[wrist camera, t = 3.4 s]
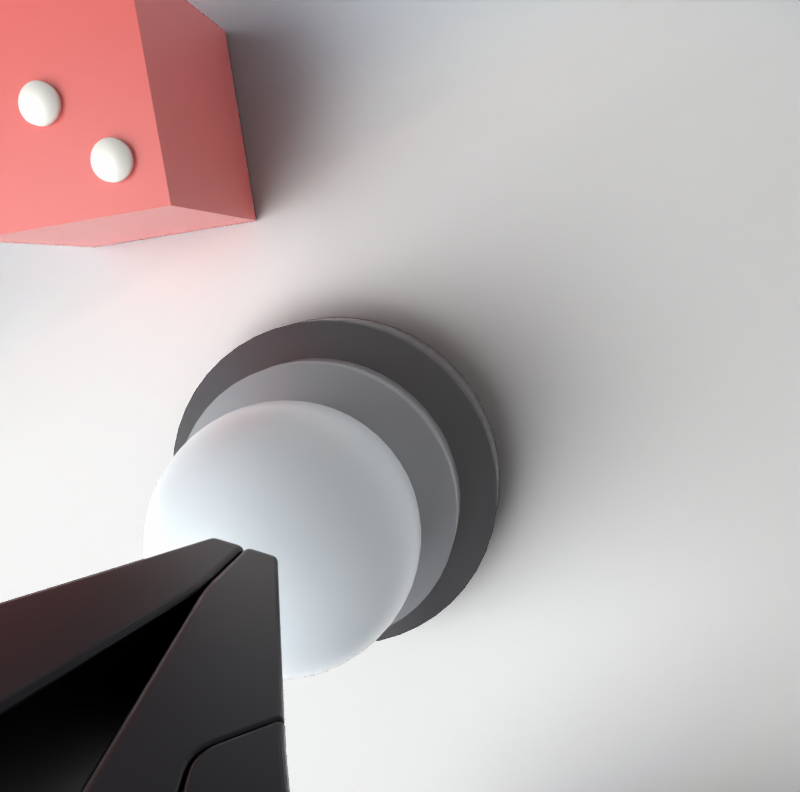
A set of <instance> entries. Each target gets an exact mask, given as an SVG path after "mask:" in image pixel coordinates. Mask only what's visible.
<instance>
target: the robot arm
mask: <svg viewBox="0 0 800 792" xmlns="http://www.w3.org/2000/svg"><path fill="white" fill-rule="evenodd" d="M0 792H290V789H289V778H288V767H287V756H286V739H285V726H284V700H283V675H282V651H281V626H280V602H279V578H278V560H277V558H276V557H275V556H273V555H270V554H266V553H263V552H260V551H256V550H253V549H246V550H243V548H242V547H241V546H239V545H237V544H233V543H230V542H227V541H224V540H220V539H217V538H211V539H207V540H204V541H200V542H197V543H194V544H191V545H187V546H184V547H181V548H178V549H174V550H171V551H168V552H165V553H161V554H158V555H155V556H152V557H148V558H145V559H142V560H139V561H135V562H132V563H129V564H126V565H122V566H119V567H116V568H113V569H109V570H106V571H103V572H100V573H96V574H93V575H90V576H87V577H83V578H80V579H77V580H74V581H70V582H67V583H64V584H61V585H57V586H54V587H51V588H48V589H44V590H41V591H38V592H35V593H31V594H28V595H25V596H21V597H18V598H15V599H12V600H8V601H5V602H2V603H0Z"/></svg>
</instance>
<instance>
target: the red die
mask: <svg viewBox="0 0 800 792" xmlns="http://www.w3.org/2000/svg"><path fill="white" fill-rule="evenodd" d="M251 221H256V216H255V210H254V204H253V197H252V191H251V185H250V179H249V173H248V167H247V161H246V155H245V149H244V142H243V136H242V130H241V124H240V118H239V112H238V106H237V100H236V94H235V88H234V81H233V75H232V69H231V63H230V57H229V51H228V45H227V39H226V33H225V31H224V30H223V29H222V28H220V27H219V26H218V25H217V24H215V23H214V22H213V21H211V20H210V19H209V18H208V17H206V16H205V15H204V14H203V13H201V12H200V11H199V10H197V9H196V8H195V7H194V6H192V5H191V4H190V3H189V2H187V1H186V0H0V242H4V243H24V244H43V245H63V246H82V247H99V246H105V245H111V244H117V243H123V242H129V241H135V240H142V239H148V238H154V237H160V236H166V235H172V234H178V233H184V232H190V231H196V230H202V229H209V228H215V227H221V226H227V225H233V224H239V223H245V222H251Z"/></svg>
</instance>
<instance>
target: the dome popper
mask: <svg viewBox="0 0 800 792" xmlns="http://www.w3.org/2000/svg"><path fill="white" fill-rule="evenodd" d="M459 514H460V488H459V478H458V473H457V469H456V465H455V461H454V458H453V455H452V453H451V450H450V448H449V445H448V443H447V441H446V439H445V437H444V435H443V433H442V431H441V430H440V428H439V426H438V424H437V423H436V422H435V420H434V419H433V418H432V416H431V415H430V414H429V412H428V411H427V410H426V409H425V408H424V406H423V405H422V404H421V403H420V402H419V401H418V400H417V399H416V398H415V397H414V396H413V395H412V394H410V393H409V392H408V391H407V390H405V389H404V388H403V387H402V386H401V385H399V384H398V383H396V382H394V381H393V380H391V379H390V378H388V377H386V376H385V375H383V374H381V373H378V372H376V371H374V370H372V369H370V368H368V367H365V366H361V365H358V364H355V363H352V362H348V361H342V360H336V359H324V358H310V359H300V360H293V361H289V362H285V363H281V364H278V365H275V366H272V367H270V368H267V369H264V370H262V371H259V372H257V373H254V374H252V375H249V376H247V377H245V378H244V379H242V380H240V381H238V382H237V383H235V384H233V385H232V386H230V387H229V388H228V389H227V390H225V391H224V392H223V393H221V394H220V395H219V396H218V397H217V398H216V399H215V400H214V401H213V402H212V403H211V404H210V405H209V406H208V407H207V408H206V410H205V411H204V412H203V414H202V415H201V416H200V418H199V419H198V421H197V422H196V424H195V426H194V428H193V429H192V431H191V433H190V435H189V437H188V439H187V442H186V443H185V444H184V445H183V446H182V447H181V448H180V449H179V451H178V452H177V453H176V454H175V455H174V457H173V458H172V459H171V461H170V462H169V464H168V465H167V466H166V468H165V469H164V471H163V473H162V475H161V477H160V479H159V481H158V483H157V485H156V487H155V489H154V492H153V495H152V497H151V500H150V503H149V506H148V511H147V516H146V520H145V529H144V541H143V547H144V559H145V558H148V557H152V556H155V555H158V554H161V553H165V552H168V551H171V550H174V549H178V548H181V547H184V546H187V545H191V544H194V543H197V542H200V541H204V540H207V539H211V538H217V539H220V540H224V541H227V542H230V543H233V544H237V545H239V546H241V547H242V548H243V550H246V549H253V550H256V551H260V552H263V553H266V554H270V555H273V556H275V557H276V558H277V560H278V578H279V602H280V626H281V651H282V675H283V680H287V679H295V678H302V677H307V676H312V675H315V674H319V673H322V672H326V671H328V670H330V669H333V668H335V667H337V666H339V665H342V664H343V663H345V662H347V661H349V660H350V659H352V658H353V657H355V656H357V655H358V654H360V653H361V652H363V651H364V650H365V649H366V648H368V647H369V646H370V645H371V644H372V643H374V642H375V641H376V640H377V639H378V638H379V637H380V636H381V635H382V633H383V632H384V631H385V630H386V629H387V628H388V627H389V626H391V625H393V624H394V623H396V622H397V621H399V620H401V619H402V618H404V617H405V616H406V615H408V614H409V613H410V612H411V611H412V610H414V609H415V608H416V607H417V606H418V605H419V604H420V603H421V602H422V601H423V600H424V599H425V597H426V596H427V595H428V594H429V593H430V592H431V590H432V589H433V587H434V586H435V584H436V583H437V581H438V580H439V578H440V576H441V574H442V572H443V570H444V568H445V566H446V564H447V562H448V558H449V555H450V552H451V549H452V546H453V542H454V539H455V535H456V531H457V526H458V520H459Z"/></svg>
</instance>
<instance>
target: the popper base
mask: <svg viewBox="0 0 800 792" xmlns="http://www.w3.org/2000/svg"><path fill="white" fill-rule="evenodd" d="M310 358H324V359H336V360H342V361H348V362H352V363H355V364H358V365H361V366H365V367H368V368H370V369H372V370H374V371H376V372H378V373H381V374H383V375H385V376H386V377H388V378H390V379H391V380H393V381H394V382H396V383H398V384H399V385H401V386H402V387H403V388H404V389H405V390H407V391H408V392H409V393H410V394H412V395H413V396H414V397H415V398H416V399H417V400H418V401H419V402H420V403H421V404H422V405H423V406H424V408H425V409H426V410H427V411H428V412H429V414H430V415H431V416H432V418H433V419H434V420H435V422H436V423H437V424H438V426H439V428H440V430H441V431H442V433H443V435H444V437H445V439H446V441H447V443H448V445H449V448H450V450H451V453H452V455H453V458H454V461H455V465H456V469H457V473H458V478H459V488H460V514H459V520H458V526H457V531H456V535H455V539H454V542H453V546H452V549H451V552H450V555H449V558H448V562H447V564H446V566H445V568H444V570H443V572H442V574H441V576H440V578H439V580H438V581H437V583H436V584H435V586H434V587H433V589H432V590H431V592H430V593H429V594H428V595H427V596H426V597H425V599H424V600H423V601H422V602H421V603H420V604H419V605H418V606H417V607H416V608H415V609H414V610H412V611H411V612H410V613H409V614H408V615H406V616H405V617H404V618H402V619H401V620H399V621H397V622H396V623H394V624H393V625H391V626H389V627H388V628H387V629H386V630H385V631H384V632H383V633H382V635H381V636H380V637H379V638H378V639H377V640H376V641H379V640H383V639H387V638H390V637H393V636H397V635H400V634H402V633H405V632H407V631H409V630H411V629H414V628H416V627H418V626H420V625H421V624H423V623H425V622H426V621H428V620H429V619H431V618H433V617H434V616H436V615H437V614H438V613H439V612H441V611H442V610H443V609H444V608H445V607H447V606H448V605H449V604H450V603H451V602H452V601H453V600H454V599H455V598H456V597H457V596H458V595H459V594H460V592H461V591H462V590H463V589H464V588H465V587H466V585H467V584H468V582H469V581H470V579H471V578H472V576H473V575H474V573H475V572H476V571H477V569H478V567H479V564H480V562H481V560H482V558H483V556H484V554H485V552H486V549H487V546H488V543H489V540H490V537H491V534H492V531H493V525H494V519H495V514H496V507H497V500H498V490H499V466H498V456H497V450H496V445H495V441H494V437H493V433H492V430H491V427H490V425H489V422H488V419H487V417H486V414H485V412H484V410H483V408H482V406H481V404H480V403H479V401H478V399H477V397H476V395H475V393H474V392H473V391H472V389H471V388H470V387H469V385H468V384H467V382H466V381H465V380H464V378H463V377H462V376H461V375H460V374H459V373H458V372H457V370H456V369H455V368H454V367H453V366H452V365H451V364H450V363H449V362H448V361H447V360H446V359H445V358H443V357H442V356H441V355H440V354H438V353H437V352H436V351H435V350H433V349H432V348H431V347H430V346H428V345H426V344H425V343H423V342H421V341H420V340H418V339H417V338H415V337H413V336H411V335H409V334H407V333H405V332H403V331H400V330H398V329H396V328H394V327H391V326H387V325H384V324H381V323H377V322H374V321H368V320H362V319H356V318H334V317H332V318H323V319H314V320H308V321H304V322H300V323H296V324H292V325H288V326H284V327H280V328H276V329H273V330H270V331H268V332H266V333H263V334H261V335H258V336H256V337H254V338H252V339H250V340H249V341H247V342H245V343H244V344H242V345H240V346H238V347H237V348H236V349H234V350H233V351H232V352H230V353H229V354H228V355H227V356H225V357H224V358H223V359H222V360H220V362H219V363H218V364H217V365H216V366H215V367H214V368H213V369H212V370H211V371H210V372H209V373H208V374H207V375H206V377H205V378H204V379H203V381H202V382H201V384H200V385H199V386H198V388H197V389H196V391H195V392H194V394H193V396H192V398H191V400H190V402H189V404H188V405H187V407H186V409H185V412H184V415H183V418H182V420H181V423H180V426H179V429H178V433H177V438H176V442H175V447H174V455H175V454H176V453H177V452H178V451H179V449H180V448H181V447H182V446H183V445H184V444H185V443H186V442H187V439H188V437H189V435H190V433H191V431H192V429H193V428H194V426H195V424H196V422H197V421H198V419H199V418H200V416H201V415H202V414H203V412H204V411H205V410H206V408H207V407H208V406H209V405H210V404H211V403H212V402H213V401H214V400H215V399H216V398H217V397H218V396H219V395H220V394H221V393H223V392H224V391H225V390H227V389H228V388H229V387H230V386H232V385H233V384H235V383H237V382H238V381H240V380H242V379H244V378H245V377H247V376H249V375H252V374H254V373H257V372H259V371H262V370H264V369H267V368H270V367H272V366H275V365H278V364H281V363H285V362H289V361H293V360H300V359H310Z"/></svg>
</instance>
